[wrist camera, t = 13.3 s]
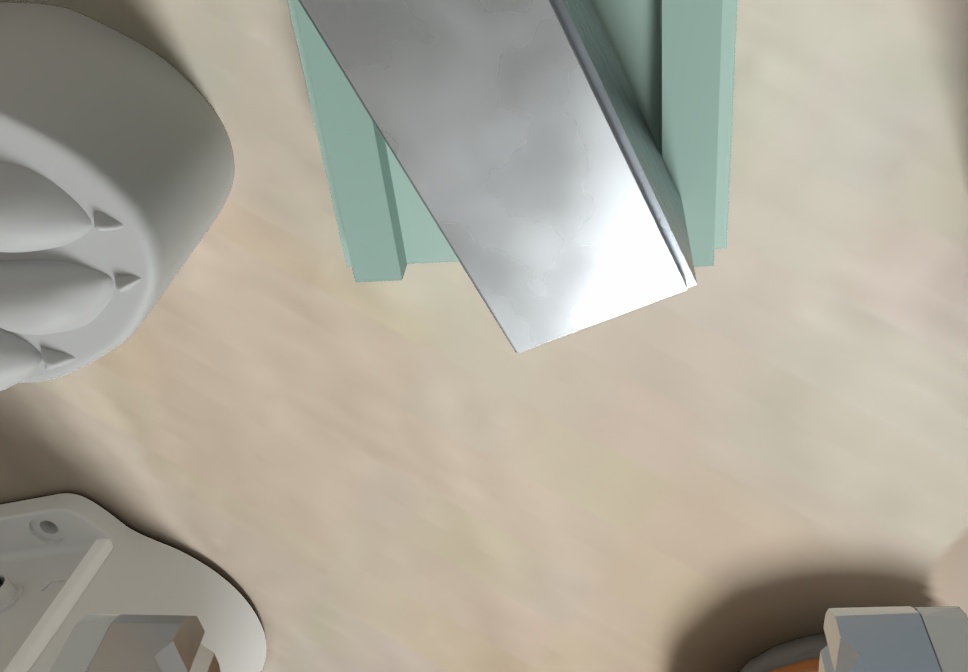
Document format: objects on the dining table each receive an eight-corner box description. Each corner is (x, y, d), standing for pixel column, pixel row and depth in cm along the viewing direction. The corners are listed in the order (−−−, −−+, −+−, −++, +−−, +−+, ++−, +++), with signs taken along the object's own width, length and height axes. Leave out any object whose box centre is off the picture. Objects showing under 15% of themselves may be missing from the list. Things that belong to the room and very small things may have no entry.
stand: (370, 210, 33) (340, 283, 29) (280, -248, 25) (220, -236, 21) (712, 190, 32) (731, 264, 28) (728, -306, 24) (756, -305, 20)
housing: (303, -122, 23) (239, -80, 18) (484, -235, 21) (457, -217, 17) (526, 264, 28) (515, 361, 24) (681, 199, 26) (698, 292, 22)
